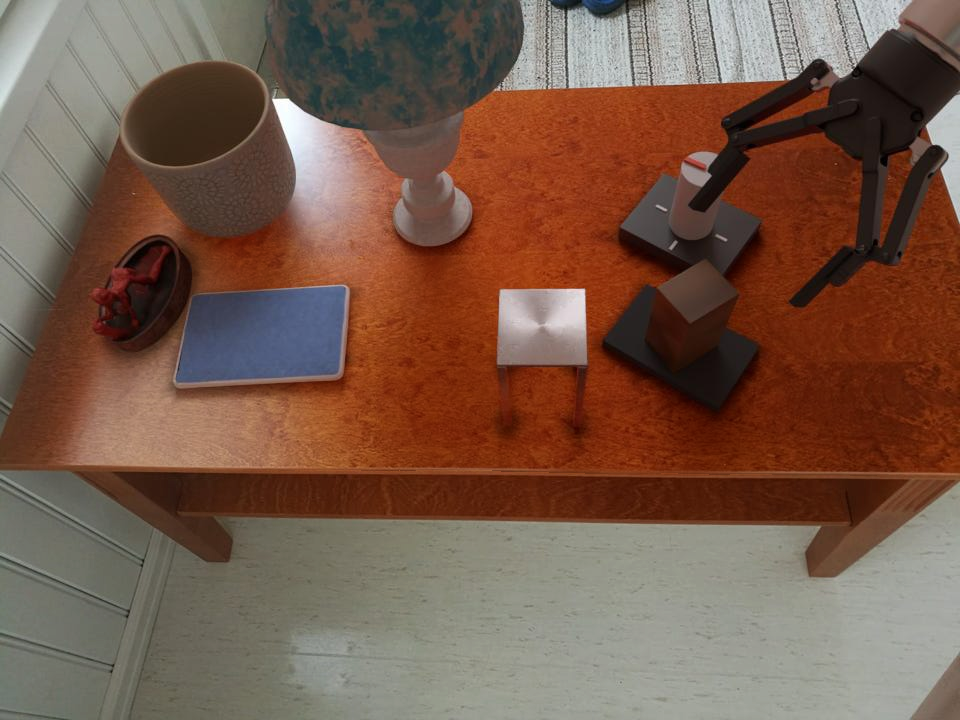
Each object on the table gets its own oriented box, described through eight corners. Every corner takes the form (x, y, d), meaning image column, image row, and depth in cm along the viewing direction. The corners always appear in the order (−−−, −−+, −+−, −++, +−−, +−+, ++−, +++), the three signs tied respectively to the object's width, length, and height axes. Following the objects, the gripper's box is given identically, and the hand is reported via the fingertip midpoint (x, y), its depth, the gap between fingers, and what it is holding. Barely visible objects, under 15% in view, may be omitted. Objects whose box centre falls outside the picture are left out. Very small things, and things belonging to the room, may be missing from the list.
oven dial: (720, 218, 86) (739, 161, 78) (699, 247, 84) (716, 192, 76) (681, 200, 87) (696, 142, 79) (660, 228, 86) (672, 172, 78)
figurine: (192, 348, 85) (111, 312, 77) (135, 370, 89) (52, 339, 81) (203, 240, 92) (129, 196, 83) (149, 265, 96) (73, 226, 87)
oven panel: (758, 230, 87) (763, 218, 85) (715, 289, 84) (720, 278, 82) (661, 183, 91) (664, 171, 90) (617, 237, 88) (619, 226, 86)
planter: (297, 254, 90) (254, 167, 77) (165, 257, 92) (100, 171, 78) (316, 152, 98) (280, 56, 85) (194, 155, 100) (140, 62, 86)
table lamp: (365, 138, 99) (268, -202, 64) (542, 153, 95) (541, -199, 60) (315, 285, 88) (164, -28, 53) (511, 308, 84) (489, -11, 49)
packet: (644, 338, 80) (656, 287, 71) (688, 312, 81) (705, 258, 72) (673, 373, 78) (690, 324, 69) (718, 345, 79) (740, 293, 70)
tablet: (174, 391, 83) (169, 386, 82) (193, 297, 89) (189, 291, 88) (344, 383, 82) (341, 377, 80) (352, 288, 88) (349, 282, 86)
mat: (757, 350, 80) (760, 345, 78) (716, 412, 76) (718, 408, 75) (645, 289, 84) (646, 283, 83) (601, 345, 81) (602, 340, 80)
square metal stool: (579, 360, 81) (585, 288, 68) (580, 427, 77) (587, 364, 65) (506, 359, 81) (499, 289, 69) (504, 426, 78) (496, 364, 65)
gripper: (1072, 153, 56) (856, 348, 67) (828, -12, 67) (676, 178, 78) (1065, 135, 51) (830, 351, 61) (800, -42, 61) (640, 168, 72)
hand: (743, 255), depth 69 cm, fingers open, 13 cm apart
